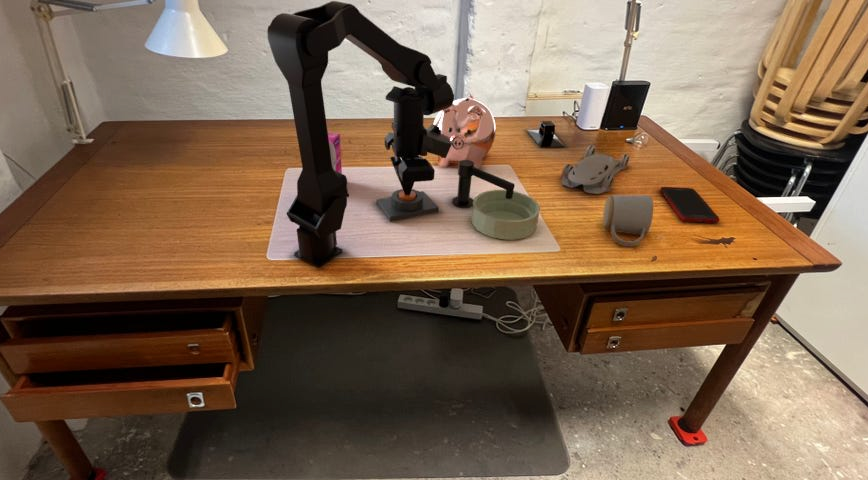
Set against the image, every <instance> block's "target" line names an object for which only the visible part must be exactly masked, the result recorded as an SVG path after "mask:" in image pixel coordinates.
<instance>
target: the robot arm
mask: <svg viewBox="0 0 868 480" xmlns="http://www.w3.org/2000/svg"><path fill="white" fill-rule="evenodd" d="M266 32H267V34H266V35H267V41H268V45H269V48H270V51H271V54H272V56H273V59H274V62H275V64H276V66H277V67H278V69H279V70H280V72H281V73H282V76H283V77H284V79H285V80H286V82H287V85H288V92H289V98H290V103H291V109H292V115H293V120H294V127H295V132H296V139H297V144H298V149H299V156H300V161H301V168H302V169H301V172H300V174H299V176H298V178H297V181H296V196H295V197H294V199H293V201H292V202H291V204H290V205H289V208H288V210H287V211H286V216H287V218H288V220H289V221H290V222H291V223H294V224H296V225H297V226H298V228H296V236H297V242H298V250H296V251H294V253H293V257H295V258H297V259H300V260H301V261H304V262H306V263H308V264H310V265H312V266H314V267H316V268H321V267H324V265H326V264H327V263H329V262H330V261H332V260H334V259H335V258H336V257H338V256H339V255H341V254H342V253H343V249H342V248H340V247H338V245H337V244H338V242H337V231H339V230H341V229H342V226H343V220H344V216H345V211H346V209H347V205H348V198H350V194H349V191H348V178H347V176H346V175H345V174H344V173H342V174H341V173H339V172H337V171H335V170H334V169H333V167H332V161H331V153H330V145H329V138H328V133H329V130H328V123H327V115H326V108H325V101H324V100H325V99H324V92H323V86H322V80H323V77H324V75H325V73H326V70H327V68H328V65H329V52H331V51H332V50H334V49H336V48H338V47H340V46H341V45H342V43H343V42H344V41H345V39H346V40H347V41H348V42H350V43H352V44H353V45H354V46H356V47H357V48H358V49H360V50H361V51H363V52H364V53H366V54H367V55H368V56H370V57H372V58H373V59H374V60H376V61H377V62H378V63H379V64H380V66H381V70H382V72H384V73H385V75H386V76H387V77H388V78H389V79H390V80H391V81H393V82H395V83H398V84H402V85H406V87H398V86H395V85H394V86H392V88H391V90H390V91H389V92H388V93H386V95H385V98H384V99H385V100H386V101H390V102H392V103H393V122H391V130H392V131H393V132H388V133H387V134H386V135H385V136H384V147H385V149H386V151H390V150H391V149H392V152H393V153H394V154H393V156H390V158H389V159H390V162H391V164H392V167H393V169H394V171H395V175H396V177H397V179H398V181H399V184H400V186H401V189H403V191H404V193H405V195H410V193H411V190H412V189H414V184H415V183H418V182H419V183H420V182H430V181H434V180H435V170H436V169H435V168H434V167H433V165H432V164H431V162H430V161H429V160H428V159H426V158H424V157H427V156H428V154H431V155H435V156H437V157H438V156H440V157H442V158H446V157H447V154H448V152H449V150H450V147H451V145H452V143H451V141H450V140H449V139H448V138H447V137H446V136H445V135H444V134H441V129H440V128H439V126H437V125H433V124H431V125H430V126H429V127H428V128H426V127H425V126H424V119H425V118H424V117H425V116H431V115H434V114H436V113H437V114H438V113H439V112H440V111H442V110H445V109H448V108H449V107H451V105H452V104H453V101H455V94H454V91H453V88H452V86H451V85H450V83H449V82H448V76H447V75H444V74H441V73H437V74H436V73H435V70H434V68H433V67H432V65H431V64H432V60H431V58H430V57H429V55H428V54H425V53H423V52H421V51H419V50H416V49H413V48H411V47H408V46H405V45H403V44H401V43H400V42H398V41H396V40H395V39H394V38H393V37H392V36H391V35H389V34H388V33H387V32H385V31H384V30H383V29H382V28H380V27H379V25H376V24H375V23H374V22H373V21H372V20H370V19H369V18H368V17H367V16H365V15H364V14H363V13H362V12H360V10H359V9H358V7H356V6H355V5H354V4H352V3H347V2H342V1H337V0H331V1H329V2H326V3H324V4H322V5H320V6H316V7H312V8H307V9H304V10H299V11H296V12H293V13H288V12H282V13H279V14H277V15H276V16H275V17H274V18H273V19H272V20H271V22H270V24H269V25H268V26H267V31H266Z"/></svg>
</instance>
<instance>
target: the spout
mask: <svg viewBox="0 0 868 480" xmlns="http://www.w3.org/2000/svg"><path fill="white" fill-rule="evenodd" d="M457 168H458V169H457V175H458V177H459V176H460V177H464V178H469V177H471V178H472V177H475V178H478V179H480V180H483V181H485V182H486V183H489V184H492V185H494V186H496V187H499V188H501V189H502V190H506V196H505V197H506V198H507V199H512V198H513V191H515V190H514V189H515V187H516V184H515V183H513V182H511V181H509V180H506V179H505V178H502V177H499V176H497V175H495V174H492V173H490V172H487V171H485V170H483V169H482V168H481V169H478V168H476V167H474V162H472V161H470V160H461V161H459V163H458V167H457Z"/></svg>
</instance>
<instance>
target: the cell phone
mask: <svg viewBox="0 0 868 480" xmlns="http://www.w3.org/2000/svg"><path fill="white" fill-rule="evenodd" d="M659 192H660V193H661V194H662V195H663V197H664V198H665V199H666V201H667V202H668V204H669V205H670V206H671V208H672V209H673V210H674V212H675V214H676V215H677V216H678V217H679V218H680V220H681V221H683V222H686V223H707V224H718V223H719V221H720V217H719V215H717V213H716V212H715V211H714V209H712V208H711V206H710V205H709V204H708V203H707V202H706V200H704V199H703V197H701V195H700V194H699V193H698V192H697V190H695V189H694V188H692V187H677V186H661V187H660V190H659Z"/></svg>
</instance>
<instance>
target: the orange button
mask: <svg viewBox="0 0 868 480" xmlns="http://www.w3.org/2000/svg"><path fill="white" fill-rule="evenodd" d="M399 199H401V200H406V201H409V200H414V199H416V193H415V192H413V191H411V193H410V195H405V193H404V191H401V192H400V193H399Z"/></svg>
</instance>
